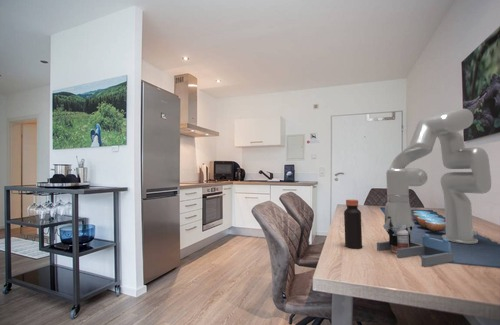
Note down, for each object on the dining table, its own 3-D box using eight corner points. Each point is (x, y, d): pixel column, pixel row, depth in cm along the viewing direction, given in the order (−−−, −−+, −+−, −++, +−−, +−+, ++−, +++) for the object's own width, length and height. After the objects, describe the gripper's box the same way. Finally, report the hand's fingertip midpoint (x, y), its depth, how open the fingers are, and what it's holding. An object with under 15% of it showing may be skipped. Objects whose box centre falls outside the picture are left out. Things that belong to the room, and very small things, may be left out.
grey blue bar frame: (402, 246, 104) (402, 228, 105) (453, 261, 86) (452, 239, 86) (377, 250, 99) (376, 231, 100) (425, 266, 81) (424, 244, 81)
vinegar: (365, 249, 101) (363, 200, 102) (348, 249, 101) (347, 201, 102) (358, 244, 108) (356, 199, 109) (342, 244, 108) (341, 199, 109)
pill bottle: (394, 248, 101) (393, 221, 102) (411, 252, 96) (410, 224, 97) (388, 251, 97) (387, 223, 98) (406, 255, 92) (404, 226, 93)
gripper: (405, 197, 104) (406, 239, 103) (373, 199, 98) (375, 244, 98) (422, 199, 97) (424, 244, 96) (390, 201, 91) (392, 249, 90)
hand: (399, 243), depth 97 cm, fingers closed on pill bottle, 6 cm apart
